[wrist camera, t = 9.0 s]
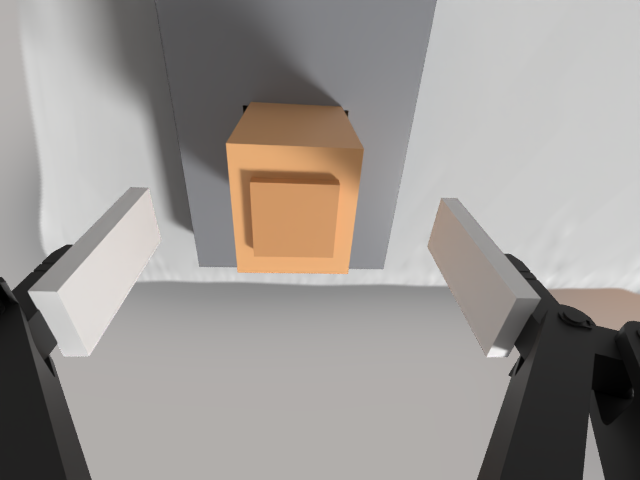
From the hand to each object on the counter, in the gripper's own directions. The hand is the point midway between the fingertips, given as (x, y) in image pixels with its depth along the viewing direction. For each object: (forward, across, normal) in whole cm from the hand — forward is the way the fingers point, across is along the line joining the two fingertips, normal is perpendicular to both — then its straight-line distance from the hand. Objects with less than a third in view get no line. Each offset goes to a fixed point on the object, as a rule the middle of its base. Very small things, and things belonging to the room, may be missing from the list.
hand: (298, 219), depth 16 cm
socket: (+14, 0, -1) cm, 14 cm away
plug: (+12, 0, -1) cm, 12 cm away
